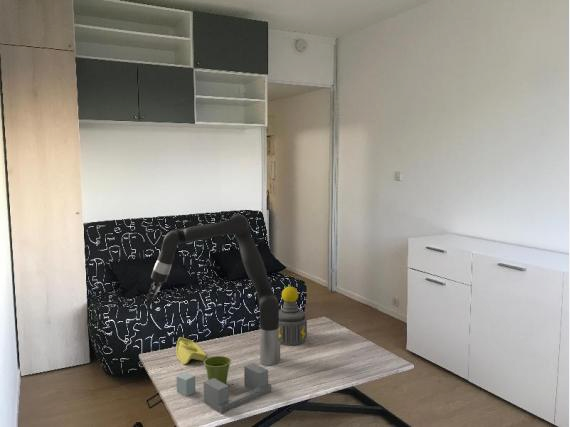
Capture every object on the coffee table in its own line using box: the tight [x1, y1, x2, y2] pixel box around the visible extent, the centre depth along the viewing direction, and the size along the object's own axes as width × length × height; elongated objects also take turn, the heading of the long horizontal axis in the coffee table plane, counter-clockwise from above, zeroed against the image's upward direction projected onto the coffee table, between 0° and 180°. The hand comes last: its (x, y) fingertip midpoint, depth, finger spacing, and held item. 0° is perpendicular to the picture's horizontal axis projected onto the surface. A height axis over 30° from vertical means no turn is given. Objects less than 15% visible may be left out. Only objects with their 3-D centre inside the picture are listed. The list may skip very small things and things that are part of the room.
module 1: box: [175, 372, 196, 397], centre depth 200 cm, size 5×6×7 cm
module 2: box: [203, 378, 230, 413], centre depth 189 cm, size 5×10×9 cm, turn 44°
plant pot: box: [203, 355, 232, 385], centre depth 205 cm, size 12×12×11 cm
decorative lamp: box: [279, 286, 308, 346], centre depth 259 cm, size 19×19×30 cm
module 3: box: [243, 362, 269, 390], centre depth 203 cm, size 5×10×9 cm, turn 44°
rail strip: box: [218, 383, 272, 415], centre depth 192 cm, size 26×2×3 cm, turn 134°
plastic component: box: [175, 336, 207, 365], centre depth 238 cm, size 20×7×10 cm
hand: (150, 302), depth 224 cm, fingers open, 8 cm apart
